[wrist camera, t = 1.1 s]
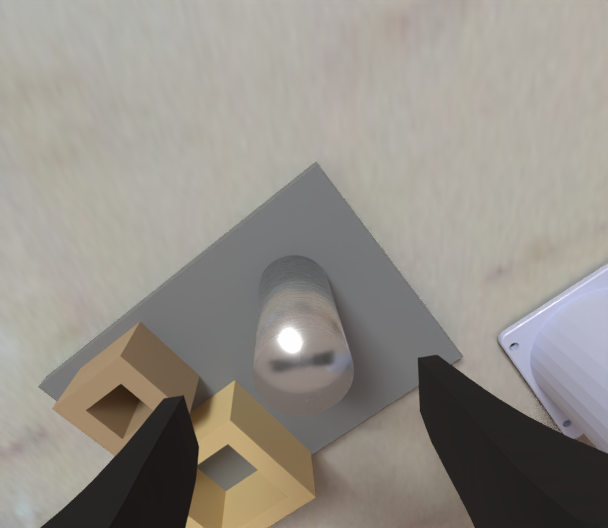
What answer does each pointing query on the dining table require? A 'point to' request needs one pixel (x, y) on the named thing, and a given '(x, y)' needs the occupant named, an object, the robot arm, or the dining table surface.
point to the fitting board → (252, 356)
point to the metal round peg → (299, 339)
